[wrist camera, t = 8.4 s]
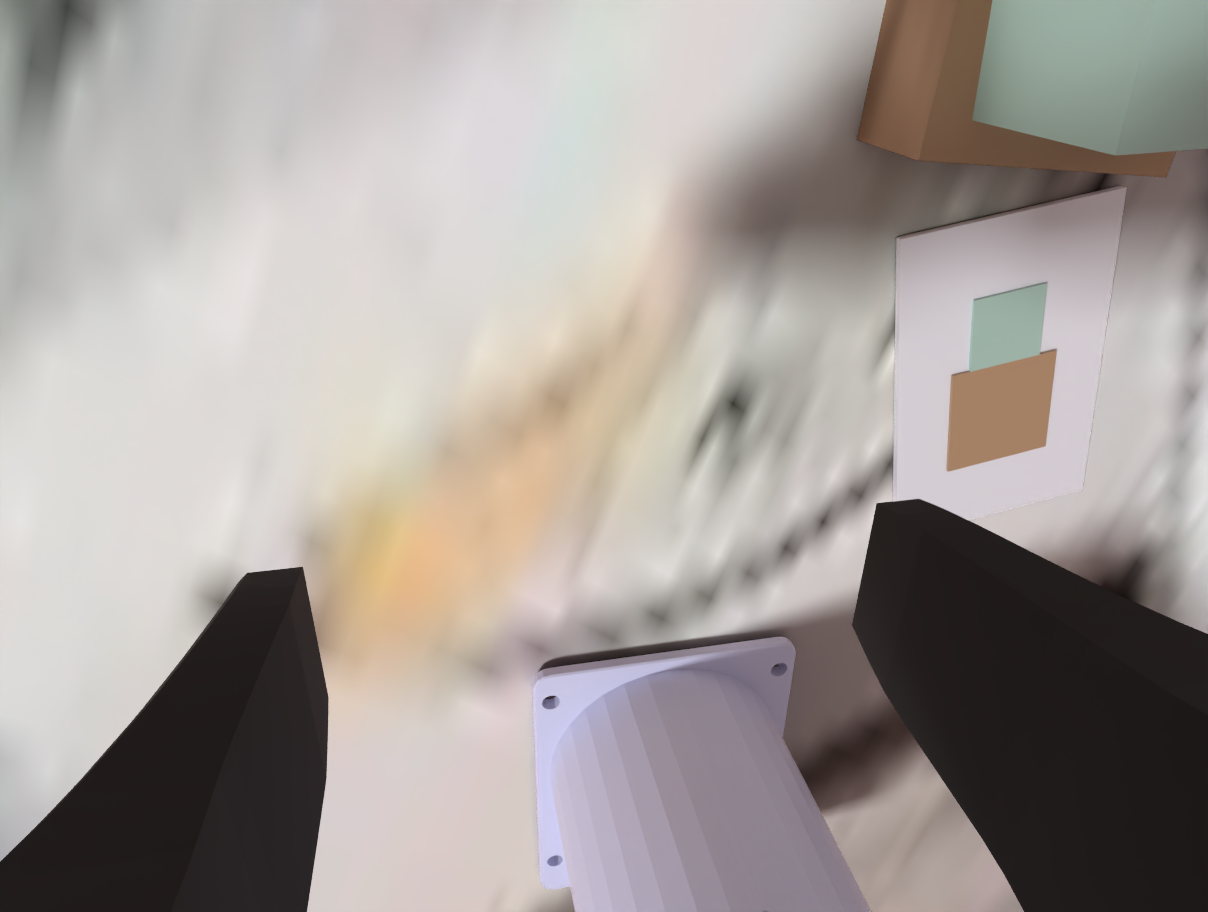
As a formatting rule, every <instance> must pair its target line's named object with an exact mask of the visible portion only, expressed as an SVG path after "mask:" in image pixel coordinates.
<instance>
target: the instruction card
mask: <svg viewBox="0 0 1208 912" xmlns="http://www.w3.org/2000/svg"><path fill="white" fill-rule="evenodd" d="M1126 190H1127V187H1124V186H1117V187H1113V188H1109V189H1104V190H1100V191H1096V192H1091V193H1087V194H1082V195H1078V196H1074V197H1069V198H1065V199H1061V200H1056V201H1052V202H1048V203H1043V204H1039V205H1035V206H1030V207H1026V208H1022V209H1017V210H1013V211H1009V212H1004V213H1000V214H996V215H991V216H987V217H983V218H978V219H974V220H969V221H965V222H961V223H956V224H952V225H948V226H943V227H939V228H935V229H930V230H926V231H922V232H917V233H913V234H909V235H904V236H900V237H896V310H895V387H894V464H893V502H894V501H903V500H912V499H921V500H924V501H926V502H929V503H931V504H934V505H936V506H938V507H941V508H943V509H945V510H947V511H950V512H952V513H954V514H956V515H958V516H960V517H962V518H964V519H966V520H968V521H969V520H972V519H976V518H980V517H984V516H987V515H991V514H995V513H998V512H1002V511H1006V510H1010V509H1013V508H1017V507H1021V506H1025V505H1028V504H1032V503H1036V502H1039V501H1043V500H1047V499H1051V498H1054V497H1058V496H1062V495H1066V494H1069V493H1073V492H1077V491H1080V490H1083V483H1084V476H1085V469H1086V462H1087V456H1088V449H1089V442H1090V435H1091V428H1092V422H1093V415H1094V408H1095V401H1096V394H1097V388H1098V381H1099V374H1100V367H1101V360H1102V354H1103V347H1104V340H1105V333H1106V326H1107V319H1108V313H1109V306H1110V299H1111V292H1112V285H1113V279H1114V272H1115V265H1116V258H1117V251H1118V245H1119V238H1120V231H1121V224H1122V217H1123V211H1124V204H1125V197H1126Z"/></svg>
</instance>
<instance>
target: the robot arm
mask: <svg viewBox="0 0 1208 912" xmlns="http://www.w3.org/2000/svg"><path fill="white" fill-rule="evenodd" d="M852 626H853V628H854V630H855V632H856V634H857V637H858V639H859V641H860V643H861V645H862V647H863V650H864V652H865V654H866V656H867V658H868V660H869V662H870V664H871V666H872V668H873V670H874V672H875V674H876V676H877V678H878V680H879V682H880V684H881V686H882V688H883V690H884V692H885V693H886V695H887V697H888V698H889V700H890V701H891V703H892V704H893V706H894V708H895V709H896V711H897V712H898V714H899V715H900V717H901V718H902V720H903V721H904V723H905V724H906V726H907V727H908V729H909V730H910V732H911V733H912V735H913V736H914V738H915V739H916V741H917V742H918V744H919V745H920V747H921V748H922V750H923V751H924V753H925V754H926V756H927V757H928V759H929V760H930V762H931V763H932V765H933V766H934V768H935V769H936V771H937V772H938V774H939V775H940V777H941V778H942V780H943V781H944V783H945V784H946V786H947V787H948V789H949V790H950V791H951V793H952V794H953V796H954V797H955V799H956V800H957V802H958V803H959V805H960V806H961V808H962V809H963V811H964V812H965V814H966V815H967V817H968V818H969V820H970V821H971V823H972V824H973V826H974V827H975V829H976V830H977V832H978V833H979V835H980V836H981V838H982V839H983V841H984V842H985V844H986V846H987V847H988V849H989V850H990V852H991V854H992V855H993V857H994V859H995V860H996V862H997V863H998V865H999V867H1000V868H1001V870H1002V872H1003V873H1004V875H1005V877H1006V879H1007V880H1008V882H1009V884H1010V886H1011V888H1012V890H1013V892H1014V893H1015V895H1016V897H1017V899H1018V901H1019V903H1020V905H1021V906H1022V908H1023V910H1024V912H1208V634H1206V633H1204V632H1201V631H1199V630H1196V629H1194V628H1192V627H1189V626H1187V625H1184V624H1182V623H1180V622H1177V621H1175V620H1173V619H1171V618H1169V617H1166V616H1164V615H1162V614H1160V613H1157V612H1155V611H1153V610H1151V609H1149V608H1146V607H1144V606H1142V605H1140V604H1137V603H1135V602H1133V601H1131V600H1129V599H1126V598H1124V597H1122V596H1120V595H1118V594H1116V593H1113V592H1111V591H1109V590H1107V589H1105V588H1103V587H1101V586H1099V585H1097V584H1095V583H1092V582H1090V581H1088V580H1086V579H1084V578H1082V577H1080V576H1078V575H1076V574H1074V573H1072V572H1070V571H1068V570H1066V569H1064V568H1062V567H1060V566H1058V565H1056V564H1054V563H1052V562H1050V561H1048V560H1046V559H1044V558H1042V557H1040V556H1038V555H1036V554H1034V553H1032V552H1030V551H1028V550H1026V549H1024V548H1022V547H1020V546H1018V545H1016V544H1014V543H1012V542H1010V541H1008V540H1006V539H1004V538H1002V537H1000V536H999V535H997V534H995V533H993V532H991V531H989V530H987V529H985V528H983V527H981V526H979V525H977V524H975V523H972V522H970V521H968V520H966V519H964V518H962V517H960V516H958V515H956V514H954V513H952V512H950V511H947V510H945V509H943V508H941V507H938V506H936V505H934V504H931V503H929V502H926V501H924V500H921V499H912V500H903V501H894V502H885V503H877V505H876V510H875V515H874V520H873V525H872V530H871V535H870V539H869V544H868V549H867V554H866V559H865V564H864V569H863V574H862V579H861V584H860V589H859V594H858V599H857V604H856V609H855V614H854V619H853V623H852ZM795 656H796V650H795V648H794V646H793V644H792V643H791V641H790V640H789V639H788V638H786V637H772V638H765V639H758V640H750V641H743V642H736V643H728V644H721V645H714V646H706V647H699V648H692V649H684V650H677V651H670V652H662V653H655V654H648V655H640V656H633V657H626V658H618V659H611V660H603V661H596V662H589V663H581V664H574V665H567V666H559V667H552V668H547V669H543V670H541V671H540V672H538V673H537V674H536V675H535V676H534V678H533V680H532V701H533V727H534V753H535V778H536V804H537V830H538V855H539V876H540V882H541V885H542V886H543V887H545V888H547V889H559V888H564V887H570V888H571V893H572V898H573V903H574V909H575V912H872V911H871V909H870V907H869V905H868V903H867V901H866V899H865V898H864V896H863V894H862V892H861V890H860V888H859V886H858V884H857V882H856V880H855V878H854V876H853V874H852V872H851V870H850V868H849V866H848V864H847V862H846V860H845V858H844V857H843V855H842V853H841V851H840V849H839V847H838V845H837V843H836V841H835V839H834V837H833V835H832V833H831V831H830V829H829V827H828V825H827V823H826V821H825V819H824V817H823V816H822V814H821V812H820V810H819V808H818V806H817V804H816V802H815V800H814V798H813V796H812V794H811V792H810V790H809V788H808V786H807V784H806V782H805V780H804V778H803V777H802V775H801V773H800V771H799V769H798V767H797V765H796V763H795V761H794V759H793V757H792V755H791V753H790V751H789V749H788V747H787V745H786V743H785V741H784V739H783V734H784V728H785V721H786V715H787V708H788V702H789V695H790V689H791V682H792V676H793V669H794V663H795ZM779 663H781V664H779ZM776 664H779V665H778V666H776V667H774V666H775V665H776ZM772 667H774V668H772ZM548 696H555V697H554V698H553V699H550V700H547V699H545V698H546V697H548ZM327 742H328V693H327V688H326V683H325V678H324V673H323V668H322V663H321V658H320V652H319V647H318V642H317V637H316V632H315V627H314V622H313V617H312V612H311V607H310V602H309V596H308V591H307V586H306V581H305V576H304V571H303V567H298V568H289V569H280V570H271V571H261V572H252V573H247V574H246V575H245V576H244V577H243V578H242V579H241V580H240V581H239V582H238V584H237V585H236V586H235V588H234V589H233V591H232V592H231V593H230V595H229V596H228V597H227V599H226V600H225V602H224V603H223V604H222V606H221V607H220V609H219V610H218V611H217V613H216V614H215V615H214V617H213V618H212V620H211V621H210V622H209V624H208V625H207V626H206V628H205V629H204V630H203V632H202V633H201V634H200V636H199V637H198V638H197V640H196V641H195V642H194V644H193V645H192V646H191V648H190V649H189V650H188V652H187V653H186V654H185V656H184V657H183V658H182V660H181V661H180V662H179V664H178V665H177V666H176V667H175V669H174V670H173V671H172V672H171V674H170V675H169V676H168V677H167V679H166V680H165V681H164V682H163V684H162V685H161V686H160V687H159V689H158V690H157V691H156V692H155V694H154V695H153V696H152V698H151V699H150V700H149V701H148V703H147V704H146V705H145V706H144V708H143V709H142V710H141V711H140V712H139V714H138V715H137V716H136V717H135V718H134V720H133V721H132V722H131V723H130V724H129V725H128V727H127V728H126V729H125V730H124V731H123V732H122V733H121V734H120V736H119V737H118V738H117V739H116V740H115V741H114V742H113V744H112V745H111V746H110V747H109V748H108V749H107V750H106V752H105V753H104V754H103V755H102V756H101V757H100V758H99V760H98V761H97V762H96V763H95V764H94V765H93V766H92V767H91V769H90V770H89V771H88V772H87V773H86V774H85V775H84V777H83V778H82V779H81V780H80V781H79V782H78V783H77V784H76V785H75V786H74V788H73V789H72V790H71V791H70V792H69V793H68V794H67V795H66V796H65V797H64V798H63V799H62V800H61V801H60V802H59V803H58V804H57V805H56V807H55V808H54V809H53V810H52V811H51V812H50V813H49V814H48V815H47V816H46V817H45V818H44V819H43V820H42V821H41V822H40V823H39V824H38V825H37V826H36V827H35V828H34V829H33V830H32V831H31V832H30V833H29V834H28V835H27V836H26V837H25V838H24V839H23V840H22V841H21V842H20V843H19V844H18V845H17V846H16V847H15V848H14V849H13V850H12V851H11V852H10V853H9V854H8V855H7V856H6V857H5V858H4V859H3V860H2V861H1V862H0V912H307V906H308V900H309V893H310V886H311V880H312V873H313V866H314V860H315V853H316V846H317V840H318V833H319V826H320V819H321V812H322V805H323V798H324V791H325V784H326V771H327Z"/></svg>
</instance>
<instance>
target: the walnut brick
mask: <svg viewBox="0 0 1208 912" xmlns="http://www.w3.org/2000/svg"><path fill="white" fill-rule="evenodd" d="M991 6H992V0H887V1H886V5H885V10H884V15H883V19H882V24H881V29H880V33H879V38H878V43H877V47H876V52H875V57H874V61H873V66H872V70H871V75H870V80H869V84H868V89H867V94H866V98H865V103H864V108H863V112H862V117H861V122H860V126H859V131H858V136H857V140H859V141H862V142H865V143H868V144H871V145H874V146H877V147H880V148H883V149H886V150H888V151H891V152H894V153H897V154H900V155H903V156H906V157H909V158H912V159H915V160H918V161H932V162H946V163H961V164H976V165H991V166H1006V167H1020V168H1035V169H1050V170H1065V171H1080V172H1095V173H1109V174H1124V175H1139V176H1154V177H1166V176H1167V173H1168V171H1169V168H1170V166H1171V163H1172V160H1173V158H1174V155H1175V153H1176V151H1170V152H1156V153H1143V154H1129V155H1111V154H1107V153H1103V152H1099V151H1095V150H1091V149H1087V148H1083V147H1079V146H1074V145H1070V144H1066V143H1062V142H1058V141H1054V140H1050V139H1046V138H1042V137H1038V136H1034V135H1030V134H1026V133H1022V132H1018V131H1014V130H1010V129H1006V128H1002V127H997V126H993V125H989V124H985V123H981V122H977V121H973V120H972V118H973V112H974V106H975V100H976V94H977V88H978V82H979V77H980V71H981V65H982V59H983V53H984V47H985V41H986V36H987V30H988V24H989V18H990V12H991Z"/></svg>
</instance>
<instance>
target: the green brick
mask: <svg viewBox="0 0 1208 912" xmlns="http://www.w3.org/2000/svg"><path fill="white" fill-rule="evenodd" d="M972 120H973V121H977V122H981V123H985V124H989V125H993V126H997V127H1002V128H1006V129H1010V130H1014V131H1018V132H1022V133H1026V134H1030V135H1034V136H1038V137H1042V138H1046V139H1050V140H1054V141H1058V142H1062V143H1066V144H1070V145H1074V146H1079V147H1083V148H1087V149H1091V150H1095V151H1099V152H1103V153H1107V154H1111V155H1129V154H1143V153H1156V152H1170V151H1183V150H1197V149H1208V0H992V6H991V12H990V18H989V24H988V30H987V36H986V41H985V47H984V53H983V59H982V65H981V71H980V77H979V82H978V88H977V94H976V100H975V106H974V112H973V118H972Z"/></svg>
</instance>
